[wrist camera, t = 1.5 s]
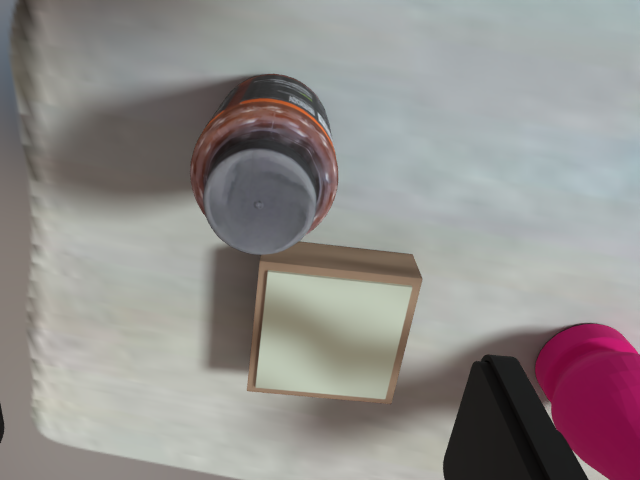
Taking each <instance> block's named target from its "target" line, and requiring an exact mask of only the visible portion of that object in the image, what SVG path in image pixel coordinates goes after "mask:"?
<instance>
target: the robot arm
mask: <svg viewBox="0 0 640 480" xmlns="http://www.w3.org/2000/svg"><path fill="white" fill-rule="evenodd" d="M3 434H4V421H3V415H2V410H1V404H0V443H1V440H2V438H3ZM443 472H444V478H445V480H588V478H587V476H586V474H585V472H584V471H583V469H582V467H581V465H580V464H579V462H578V460H577V458H576V456H575V455H574V453H573V451H572V449H571V448H570V446H569V444H568V442H567V441H566V439H565V438H564V436H563V435H562V434H561V432H559V431H558V430H556V428H555V426H554V424H553V422H552V421H551V419H550V417H549V415H548V413H547V412H546V410H545V408H544V406H543V404H542V403H541V401H540V399H539V397H538V395H537V394H536V392H535V390H534V388H533V386H532V385H531V383H530V381H529V379H528V377H527V375H526V374H525V372H524V370H523V368H522V366H521V365H520V363H519V361H518V360H517V359H516V358H514V357H508V356H496V355H485V356H484V357H483V358H482V360H481V362H480V361H476V362H474V363H473V365H472V368H471V371H470V374H469V378H468V381H467V384H466V387H465V391H464V394H463V397H462V401H461V404H460V407H459V410H458V414H457V417H456V420H455V424H454V427H453V430H452V433H451V437H450V440H449V443H448V447H447V450H446V453H445V456H444V462H443Z"/></svg>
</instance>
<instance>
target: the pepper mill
mask: <svg viewBox="0 0 640 480" xmlns="http://www.w3.org/2000/svg"><path fill="white" fill-rule="evenodd" d="M535 373H536V378H537V381H538V383H539V385H540V386H541V388H542V390H543V391H544V393H545V395H546V396H547V398H548V400H549V401H550V402H551V413H552V419H553V422H554V425H555V427H556V429H557V430H558V431H559V432H561V434H562V435H563V436H564V438H565V439H566V441H567V442H568V444H569V446H570V448H571V449H572V450H573V451H574V452H575V453H576V454H577V455H578V456H579V457H580V458H581V459H582V460H583V461H584V462H585V463H587V464H588V465H589V466H591V467H592V468H594V469H595V470H597V471H598V472H599V473H601V474H602V475H604V476H605V477H607V478H608V479H609V480H640V354H638V352H637V351H636V350H635V348H634V347H633V346H632V345H631V344H630V343H629V342H628V341H627V340H626V339H625V337H624V336H623V335H622V334H621V333H619V332H618V331H617V330H615V329H613V328H611V327H609V326H605V325H600V324H584V325H579V326H573V327H571V328H569V329H567V330H564V331H562V332H560V333H558V334H557V335H556V336H554V337H553V338H552V339H551V340H549V341H548V342H547V344H546V345H545V346H544V347H543V349H542V350H541V351H540V353H539V356H538V358H537V361H536V366H535Z"/></svg>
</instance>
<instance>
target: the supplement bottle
mask: <svg viewBox="0 0 640 480" xmlns="http://www.w3.org/2000/svg"><path fill="white" fill-rule="evenodd" d="M190 176H191V184H192V190H193V193H194V196H195V199H196V201H197V203H198V205H199V207H200V209H201V211H202V212H203V214H204V215H205V216H206V218H207V220H208V223H209V224H210V226H211V228H212V229H213V231H214V232H215V233H216V235H217V236H218V237H219V238H220V239H221V240H222V241H224V242H225V243H227V244H228V245H229V246H231V247H233V248H235V249H237V250H239V251H242V252H245V253H250V254H257V255H266V254H274V253H278V252H281V251H284V250H286V249H288V248H290V247H291V246H293V245H294V244H296V243H297V242H298V241H300V240H301V239H302V238H303V237H304V236H305V235H306V234H308V233H309V232H310V231H312V230H313V229H314V228H315V227H316V226H317V225H318V224H319V223H321V222H322V220H323V218H324V217H325V216H326V215H327V213H328V211H329V209H330V208H331V206H332V203H333V201H334V198H335V195H336V191H337V186H338V166H337V161H336V154H335V150H334V145H333V140H332V136H331V131H330V126H329V121H328V118H327V115H326V112H325V109H324V107H323V105H322V104H321V102H320V100H319V98H318V97H317V95H316V94H315V93H314V92H313V91H312V90H311V89H310V88H308V87H307V86H306V85H305V84H303V83H301V82H300V81H298V80H296V79H294V78H291V77H288V76H285V75H279V74H265V75H260V76H256V77H253V78H250V79H248V80H246V81H244V82H243V83H241V84H239V85H238V86H237V87H236V88H234V89H233V90H232V91H231V92H230V94H229V95H228V96H227V97H226V98H225V100H224V101H223V103H222V104H221V106H220V107H219V109H218V110H217V111H216V113H215V114H214V116H213V117H212V119H211V120H210V121H209V123H208V124H207V125H206V127H205V129H204V130H203V132H202V134H201V135H200V137H199V139H198V141H197V143H196V146H195V148H194V152H193V155H192V160H191V169H190Z"/></svg>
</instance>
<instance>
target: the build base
mask: <svg viewBox="0 0 640 480" xmlns="http://www.w3.org/2000/svg"><path fill="white" fill-rule="evenodd" d="M421 283H422V276H421V274H420V271H419V269H418V267H417V264H416V262H415V259H414V257H413V254H404V253H395V252H386V251H377V250H368V249H359V248H351V247H342V246H333V245H324V244H315V243H306V242H297V243H296V244H294V245H293V246H291V247H290V248H288V249H286V250H284V251H281V252H278V253H274V254H266V255H261V257H260V263H259V273H258V284H257V294H256V304H255V314H254V324H253V334H252V344H251V354H250V364H249V374H248V384H247V391H252V392H263V393H274V394H285V395H296V396H307V397H318V398H330V399H341V400H352V401H363V402H374V403H385V404H391V403H392V399H393V395H394V391H395V387H396V383H397V379H398V375H399V371H400V367H401V363H402V359H403V355H404V351H405V347H406V343H407V339H408V335H409V331H410V327H411V323H412V319H413V315H414V311H415V307H416V303H417V299H418V295H419V291H420V287H421Z"/></svg>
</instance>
